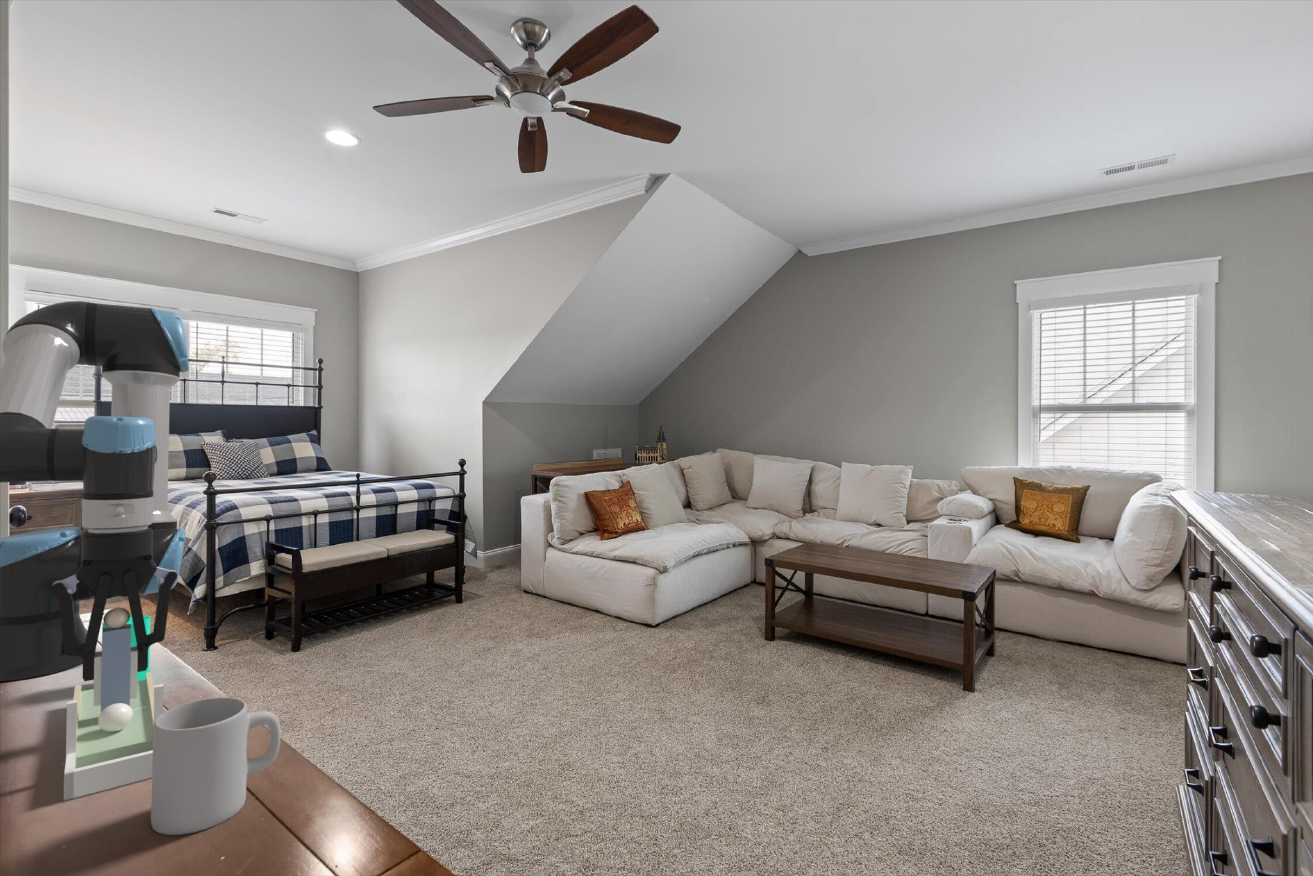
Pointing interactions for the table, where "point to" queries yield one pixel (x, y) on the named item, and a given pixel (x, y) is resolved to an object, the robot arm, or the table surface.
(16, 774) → the table surface
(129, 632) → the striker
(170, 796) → the mug
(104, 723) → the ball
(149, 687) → the pitch
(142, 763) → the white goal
